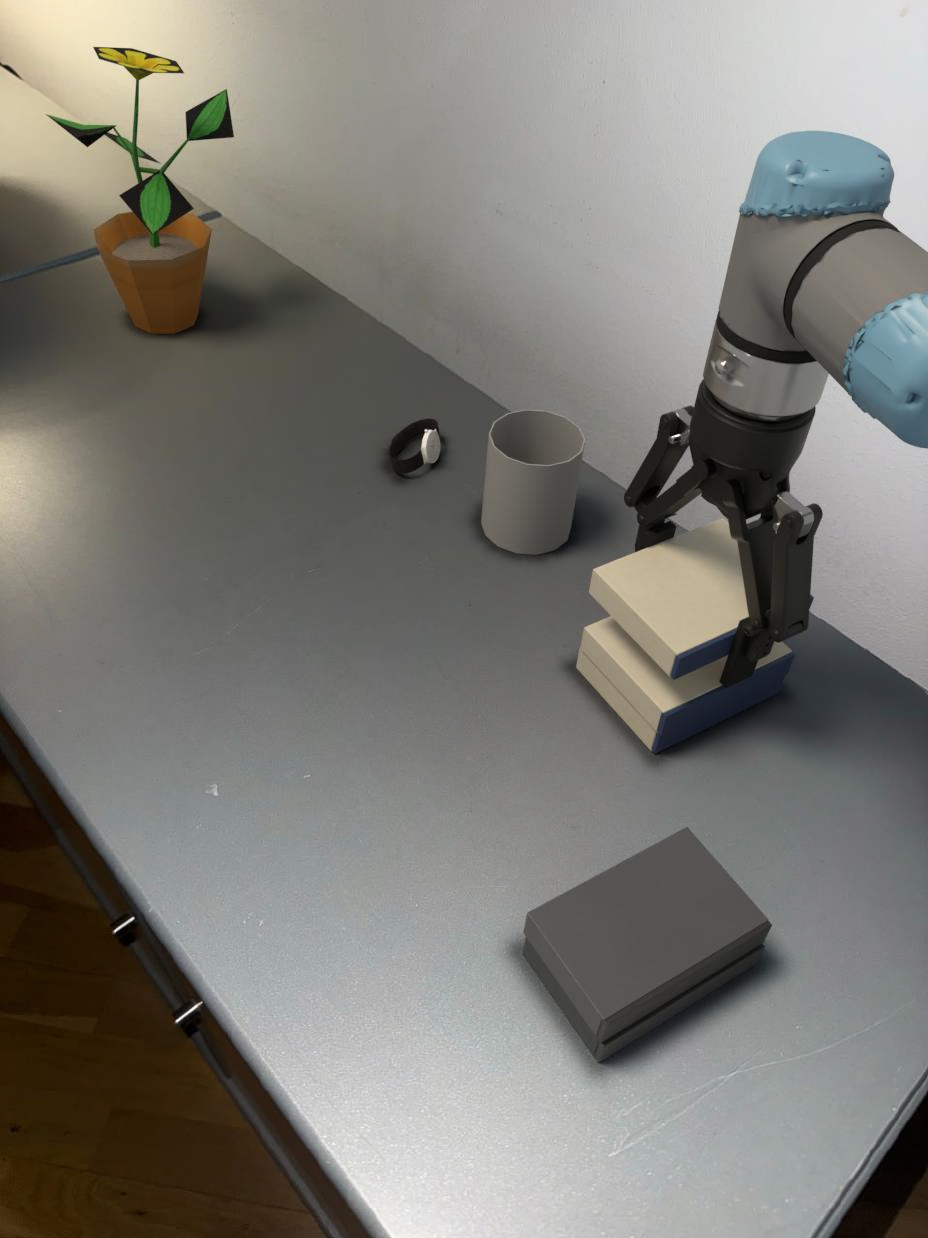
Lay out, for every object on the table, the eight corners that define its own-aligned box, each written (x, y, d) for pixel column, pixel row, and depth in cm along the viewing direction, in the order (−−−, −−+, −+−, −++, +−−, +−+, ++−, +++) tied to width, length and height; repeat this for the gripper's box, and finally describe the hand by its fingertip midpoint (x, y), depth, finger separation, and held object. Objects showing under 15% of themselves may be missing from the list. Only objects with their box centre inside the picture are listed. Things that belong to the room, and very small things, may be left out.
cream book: (805, 620, 83) (814, 596, 81) (673, 681, 78) (680, 657, 76) (716, 540, 89) (723, 517, 87) (588, 592, 84) (592, 568, 82)
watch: (421, 484, 105) (422, 454, 103) (376, 472, 106) (377, 441, 104) (450, 442, 111) (452, 412, 108) (408, 430, 112) (408, 400, 109)
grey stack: (756, 964, 72) (776, 926, 68) (596, 1064, 66) (609, 1028, 63) (674, 866, 76) (688, 825, 73) (519, 952, 71) (526, 912, 68)
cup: (463, 516, 102) (470, 427, 95) (530, 486, 106) (541, 399, 99) (520, 566, 98) (532, 477, 91) (588, 533, 102) (604, 445, 95)
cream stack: (780, 695, 89) (797, 652, 85) (654, 757, 83) (666, 715, 80) (696, 614, 95) (709, 572, 91) (574, 668, 89) (582, 625, 86)
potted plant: (250, 356, 120) (223, 65, 99) (73, 360, 117) (6, 62, 96) (250, 277, 132) (226, 4, 111) (90, 280, 130) (34, 0, 108)
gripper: (605, 321, 75) (565, 561, 91) (847, 509, 62) (752, 752, 77) (689, 297, 78) (636, 533, 94) (937, 471, 65) (827, 713, 80)
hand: (688, 632), depth 85 cm, fingers closed on cream book, 10 cm apart
